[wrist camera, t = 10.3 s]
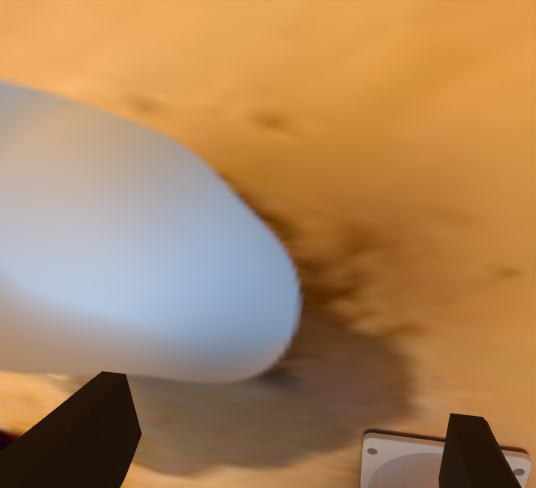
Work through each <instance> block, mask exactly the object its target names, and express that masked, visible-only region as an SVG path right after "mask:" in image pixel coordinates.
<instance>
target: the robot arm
mask: <svg viewBox="0 0 536 488" xmlns="http://www.w3.org/2000/svg"><path fill="white" fill-rule="evenodd" d="M141 435H142V433H141V429H140V426H139V422H138V418H137V414H136V411H135V407H134V403H133V399H132V396H131V392H130V388H129V384H128V381H127V377H126V374H121V373H113V372H104V371H102V372H101V373H99V374H98V375H97V376H96V377H94V378H93V379H92V380H90V381H89V382H88V383H87V384H85V385H84V386H83V387H82V388H80V389H79V390H78V391H77V392H76V393H74V394H73V395H72V396H71V397H69V398H68V399H67V400H66V401H65V402H63V403H62V404H61V405H60V406H58V407H57V408H56V409H55V410H53V411H52V412H51V413H50V414H48V415H47V416H46V417H45V418H43V419H42V420H41V421H40V422H38V423H37V424H36V425H35V426H33V427H32V428H31V429H30V430H28V431H27V432H26V433H25V434H23V435H22V436H21V437H19V438H18V439H17V440H16V441H14V442H13V443H12V444H10V445H9V446H8V447H6V448H5V449H3V450H2V451H1V452H0V488H120V487H121V485H122V483H123V481H124V479H125V477H126V474H127V472H128V469H129V467H130V464H131V462H132V459H133V456H134V454H135V451H136V448H137V445H138V443H139V440H140V437H141ZM531 468H532V462H531V459H530V457H529V455H527V454H525V453H522V452H515V451H507V450H501V449H500V447H499V445H498V443H497V441H496V439H495V437H494V435H493V433H492V431H491V429H490V426H489V424H488V422H487V421H486V420H485V419H484V418H483V417H478V416H470V415H462V414H453V413H450V418H449V423H448V429H447V434H446V439H445V442H440V441H432V440H424V439H417V438H409V437H402V436H394V435H387V434H379V433H367V434H365V435H364V437H363V448H362V464H361V480H360V488H525V486H526V483H527V480H528V477H529V474H530V471H531Z"/></svg>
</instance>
